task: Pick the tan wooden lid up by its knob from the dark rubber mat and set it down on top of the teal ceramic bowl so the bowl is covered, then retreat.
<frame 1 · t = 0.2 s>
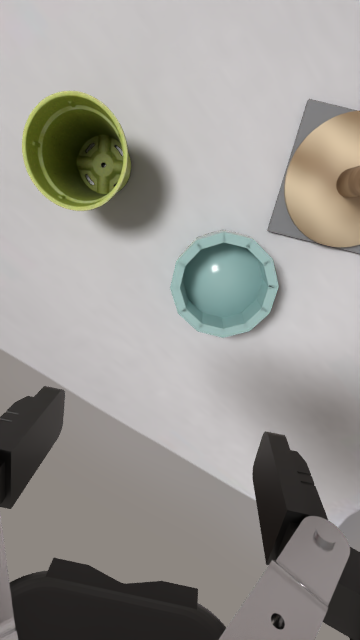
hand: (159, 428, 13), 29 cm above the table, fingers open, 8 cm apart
mat: (345, 184, 35), on the table
plant pot: (104, 166, 37), on the table
bowl: (221, 278, 40), on the table
lid: (347, 183, 35), point 1 cm above the table, touching mat
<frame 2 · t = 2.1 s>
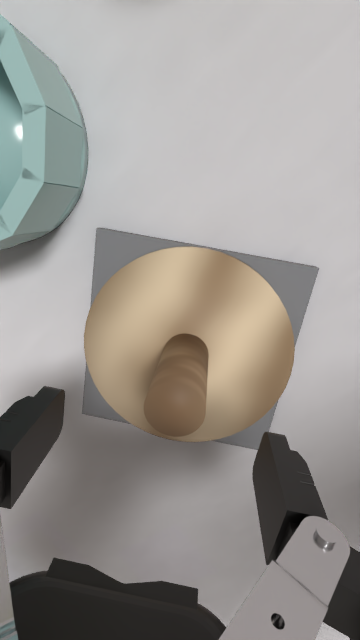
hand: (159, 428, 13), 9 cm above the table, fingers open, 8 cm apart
mat: (187, 345, 22), on the table
lid: (187, 349, 21), point 1 cm above the table, touching mat
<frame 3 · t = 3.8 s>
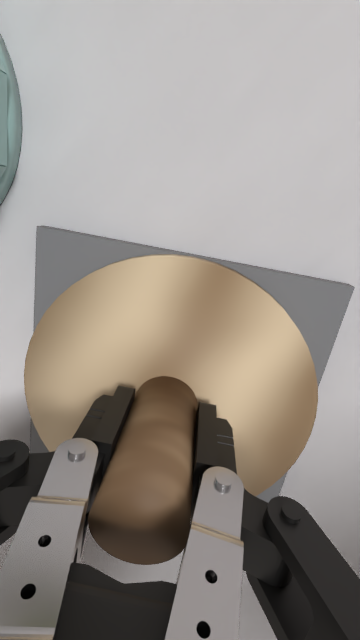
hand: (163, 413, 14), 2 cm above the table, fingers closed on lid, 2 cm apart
mat: (169, 387, 16), on the table
lid: (168, 394, 15), point 1 cm above the table, touching gripper, mat
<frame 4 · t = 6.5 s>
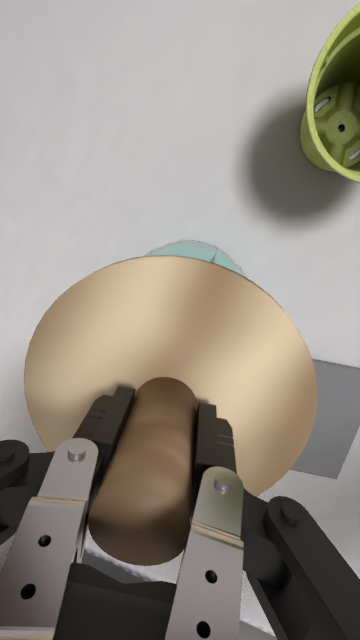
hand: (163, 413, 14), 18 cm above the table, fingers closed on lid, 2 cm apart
mat: (293, 414, 34), on the table
plant pot: (337, 129, 26), on the table
bowl: (188, 299, 31), on the table
lid: (168, 395, 15), point 17 cm above the table, touching gripper
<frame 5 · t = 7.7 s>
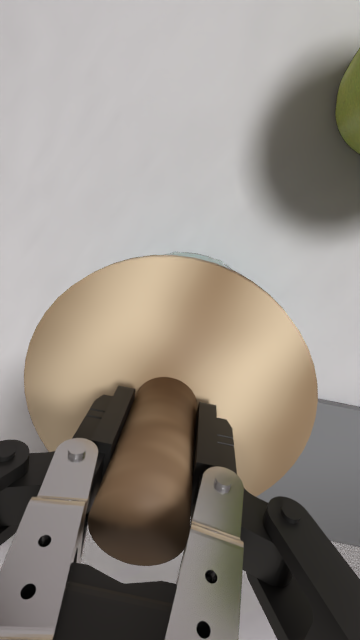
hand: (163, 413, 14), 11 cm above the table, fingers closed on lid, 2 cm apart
mat: (317, 470, 27), on the table
lid: (167, 395, 15), point 9 cm above the table, touching gripper
when the fingers open (8 cm above the table, at t = 9.0 s): lid drops 1 cm, resting on bowl.
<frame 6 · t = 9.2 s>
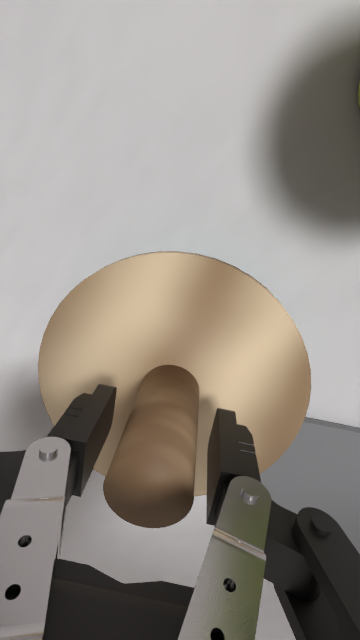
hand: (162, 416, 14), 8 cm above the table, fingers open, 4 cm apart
mat: (328, 500, 24), on the table
lid: (172, 382, 17), point 5 cm above the table, touching bowl
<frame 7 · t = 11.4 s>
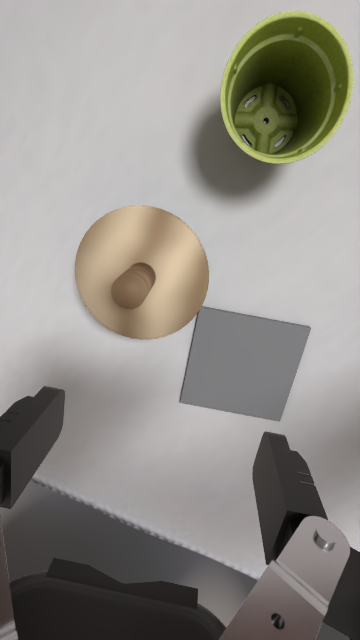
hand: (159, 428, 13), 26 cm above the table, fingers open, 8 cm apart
mat: (241, 365, 41), on the table
plant pot: (264, 121, 32), on the table
lid: (142, 275, 33), point 5 cm above the table, touching bowl
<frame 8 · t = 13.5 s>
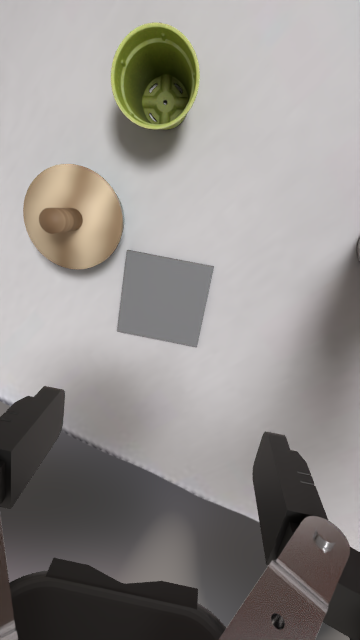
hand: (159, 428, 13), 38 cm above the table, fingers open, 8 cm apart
mat: (163, 299, 51), on the table
plant pot: (165, 103, 43), on the table
lid: (74, 218, 43), point 5 cm above the table, touching bowl
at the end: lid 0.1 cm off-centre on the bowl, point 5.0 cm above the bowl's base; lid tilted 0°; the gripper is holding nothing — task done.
